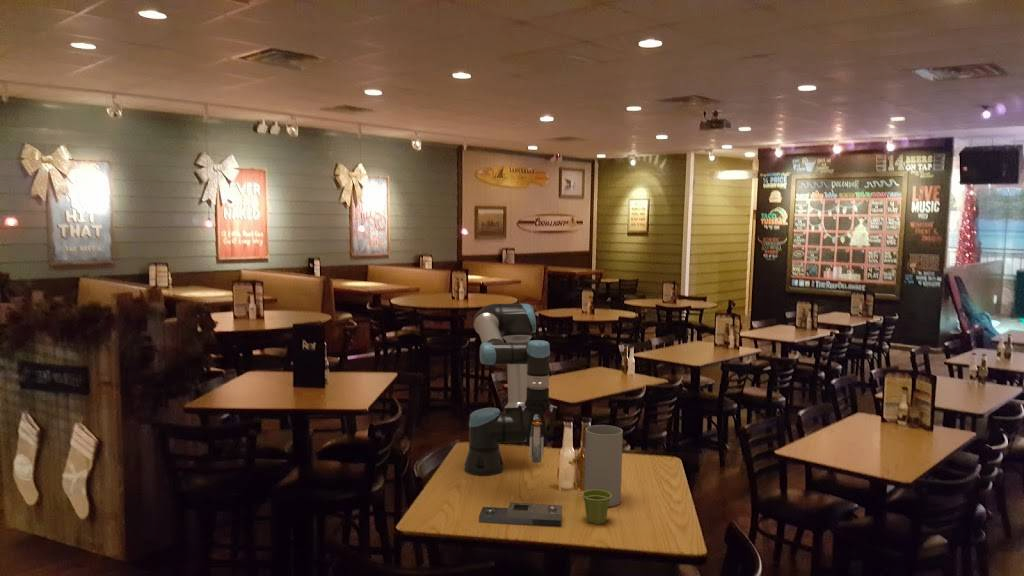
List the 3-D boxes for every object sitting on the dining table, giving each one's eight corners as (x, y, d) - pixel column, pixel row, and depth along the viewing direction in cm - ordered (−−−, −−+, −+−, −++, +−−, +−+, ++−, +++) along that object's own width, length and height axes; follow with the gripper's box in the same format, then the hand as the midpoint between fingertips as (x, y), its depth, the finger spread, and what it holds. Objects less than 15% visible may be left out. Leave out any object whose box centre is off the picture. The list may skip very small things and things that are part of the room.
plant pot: (587, 527, 231) (588, 500, 230) (577, 516, 240) (577, 490, 239) (615, 525, 234) (616, 498, 233) (604, 514, 243) (604, 488, 242)
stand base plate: (478, 522, 234) (479, 507, 234) (482, 512, 242) (482, 498, 242) (560, 526, 232) (561, 511, 231) (562, 517, 239) (562, 502, 239)
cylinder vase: (593, 492, 263) (595, 423, 261) (626, 499, 256) (628, 428, 254) (578, 503, 252) (579, 431, 250) (612, 510, 245) (613, 437, 244)
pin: (527, 460, 250) (528, 420, 249) (537, 458, 253) (538, 418, 251) (535, 464, 247) (535, 422, 246) (545, 461, 249) (545, 421, 248)
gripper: (512, 388, 245) (511, 457, 247) (561, 390, 243) (560, 460, 245) (514, 383, 252) (513, 450, 254) (562, 385, 250) (561, 453, 252)
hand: (536, 455), depth 250 cm, fingers closed on pin, 3 cm apart
